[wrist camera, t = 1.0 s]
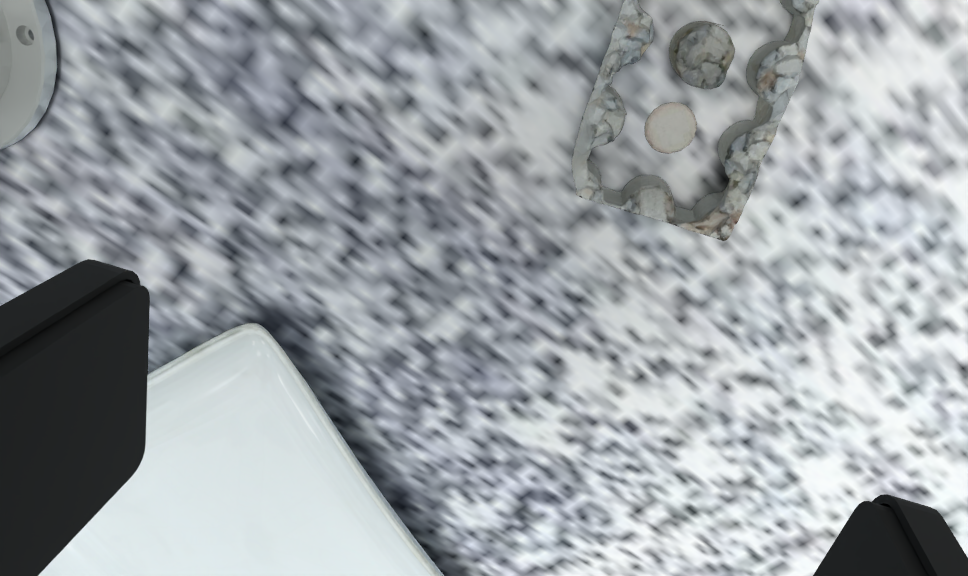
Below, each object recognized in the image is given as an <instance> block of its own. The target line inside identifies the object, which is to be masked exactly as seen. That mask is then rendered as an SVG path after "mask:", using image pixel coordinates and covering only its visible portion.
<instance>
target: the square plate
mask: <svg viewBox="0 0 968 576" xmlns="http://www.w3.org/2000/svg"><path fill="white" fill-rule="evenodd" d="M38 576H444V575H443V574H442V572H441V571H440V570H439V569H438V567H437V566H436V565H435V564H434V562H433V561H432V560H431V558H430V557H429V556H428V555H427V553H426V552H425V551H424V549H423V548H422V547H421V545H420V544H419V543H418V542H417V540H416V539H415V538H414V536H413V535H412V534H411V532H410V531H409V530H408V528H407V527H406V526H405V524H404V523H403V522H402V520H401V519H400V518H399V516H398V515H397V514H396V512H395V511H394V510H393V508H392V507H391V506H390V504H389V503H388V502H387V500H386V499H385V497H384V496H383V495H382V493H381V492H380V491H379V489H378V488H377V486H376V485H375V484H374V482H373V481H372V479H371V478H370V477H369V475H368V474H367V472H366V471H365V470H364V468H363V467H362V465H361V464H360V462H359V461H358V459H357V458H356V456H355V455H354V453H353V452H352V450H351V449H350V447H349V446H348V444H347V443H346V441H345V440H344V438H343V437H342V435H341V434H340V432H339V431H338V429H337V428H336V426H335V425H334V423H333V422H332V420H331V419H330V417H329V416H328V414H327V413H326V411H325V410H324V408H323V407H322V405H321V404H320V402H319V401H318V399H317V397H316V396H315V394H314V393H313V391H312V390H311V388H310V386H309V385H308V384H307V382H306V381H305V379H304V378H303V377H302V375H301V374H300V372H299V371H298V370H297V368H296V367H295V366H294V364H293V363H292V361H291V360H290V359H289V357H288V356H287V354H286V353H285V351H284V350H283V349H282V348H281V346H280V345H279V344H278V343H277V341H276V340H275V339H274V338H273V337H272V335H271V334H270V333H269V332H268V331H267V330H266V329H265V328H264V327H262V326H261V325H259V324H257V323H245V324H243V325H240V326H237V327H235V328H232V329H230V330H228V331H226V332H224V333H222V334H220V335H218V336H216V337H214V338H212V339H210V340H208V341H206V342H204V343H202V344H200V345H199V346H197V347H195V348H193V349H192V350H190V351H188V352H187V353H185V354H183V355H181V356H180V357H178V358H176V359H174V360H173V361H171V362H169V363H167V364H165V365H164V366H162V367H160V368H158V369H156V370H155V371H153V372H151V373H149V374H148V375H147V410H146V445H145V452H144V456H143V459H142V461H141V463H140V465H139V467H138V469H137V470H136V472H135V473H134V474H133V476H132V477H131V478H130V479H129V480H128V481H127V482H126V483H125V484H124V485H123V486H122V487H121V488H120V489H119V491H118V492H117V493H116V494H115V495H114V496H113V497H112V498H111V499H110V500H109V501H108V502H107V503H106V504H105V505H104V506H103V507H102V509H101V510H100V511H99V512H98V513H97V514H96V515H95V516H94V517H93V518H92V519H91V520H90V521H89V522H88V523H87V524H86V525H85V527H84V528H83V529H82V530H81V531H80V532H79V533H78V534H77V535H76V536H75V537H74V538H73V539H72V540H71V541H70V542H69V543H68V545H67V546H66V547H65V548H64V549H63V550H62V551H61V552H60V553H59V554H58V555H57V556H56V557H55V558H54V559H53V560H52V561H51V562H50V564H49V565H48V566H47V567H46V568H45V569H44V570H43V571H42V572H41V573H40V574H39V575H38Z"/></svg>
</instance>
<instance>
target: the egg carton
mask: <svg viewBox="0 0 968 576" xmlns="http://www.w3.org/2000/svg"><path fill="white" fill-rule="evenodd" d="M818 2H819V0H780V3H781V4H782V6H783V7H784V8H785V9H786V10H787V11H789V12H790V13H791V14H793V20H792V25H791V27H790V30H789V32H788V34H787V36H786V38H785V40H784V41H773V42H770V43H768V44H765V45H763V46H762V47H760V48H758V49H757V50H756V51H755V53H754V54H753V55H752V57H751V58H750V60H749V62H748V66H747V76H746V77H747V82H748V84H749V85H750V87H751V88H752V89H753V91H754V92H755V93H756V94H757V95H758V96H759V99H758V102H757V108H756V113H755V117H754V120H745V121H739V122H737V123H735V124H733V125H732V126H730V127H729V128H728V129H727V130H726V131H725V132H724V133H723V134H722V136H721V138H720V140H719V145H718V154H719V158H720V161H721V162H722V164H723V165H724V167H725V172H726V174H727V176H728V178H729V183H728V185H727V187H726V188H725V190H724V191H723V192H718V193H712V194H709V195H706V196H705V197H703V198H702V199H700V200H699V202H698V203H697V204H696V205H695V206H694V207H693V209H691V210H688V209H684V208H680V207H677V206H675V202H674V199H673V196H672V194H671V190H670V188H669V186H668V185H667V183H666V182H665V181H664V180H663V179H661V178H659V177H657V176H653V175H642V176H638V177H635V178H634V179H632V180H631V181H630V182H629V183H628V184H627V185H626V186H625V187H624V189H623V190H622V192H617V191H614V190H612V189H609V188H606V187H603V186H602V184H601V175H600V172H599V169H598V167H597V166H596V165H595V164H594V163H593V162H592V161H590V160H588V157H589V155H590V152H591V149H593V148H594V147H597V146H601V145H605V144H607V143H609V142H611V141H614V139H615V138H616V137H617V136H618V134H619V133H620V132H621V129H622V127H623V124H624V119H625V115H626V111H625V109H624V107H623V104H622V101H621V98H620V96H619V94H618V93H617V92H616V90H615V89H613V88H612V87H610V86H609V85H610V84H611V83H612V74H614V73H616V72H619V70H620V69H621V67H622V66H624V65H627V64H634V63H636V62H637V61H639V60H640V59H641V57H642V55H643V53H644V52H645V51H646V49H647V48H648V47H649V45H650V44H651V43H652V41H653V34H654V26H653V20H652V18H651V17H650V16H649V15H648V14H647V13H646V12H645V11H643V10H642V9H641V7H640V6H639V4H638V0H624V2H623V5H622V8H621V11H620V14H619V18H618V21H617V23H616V24H615V27H614V30H613V33H612V37H611V42H610V45H609V48H608V50H607V52H606V55H605V57H604V59H603V62H602V64H601V68H600V71H599V74H598V77H597V80H596V83H595V85H594V88H593V91H592V94H591V97H590V99H589V102H588V105H587V107H586V110H585V112H584V115H583V118H582V122H581V125H580V129H579V133H578V136H577V140H576V144H575V147H574V152H573V157H572V174H573V178H574V183H575V188H576V195H577V196H579V197H582V198H584V199H588V200H591V201H594V202H597V203H600V204H605V205H608V206H612V207H615V208H618V209H622V210H625V211H628V212H630V213H634V214H637V215H640V214H641V215H644V216H647V217H650V218H653V219H657V220H660V221H664V222H667V223H670V224H673V225H676V226H678V227H681V228H684V229H686V230H689V231H693V232H696V233H700V234H704V235H707V236H710V237H713V238H716V239H719V240H722V241H725V240H727V239H728V238H729V237H730V235H731V233H732V230H733V228H734V225H735V224H736V223H737V222H738V220H739V218H740V216H741V214H742V211H743V208H744V206H745V204H746V202H747V200H748V198H749V197H750V194H751V191H752V189H753V187H754V184H755V181H756V179H757V176H758V171H759V167H760V164H761V162H762V160H763V158H764V156H765V154H766V152H767V150H768V148H769V146H770V145H771V143H772V141H773V139H774V137H775V135H776V131H777V126H778V124H779V122H780V120H781V118H782V116H783V114H784V112H785V110H786V107H787V105H788V103H789V100H790V98H791V96H792V94H793V92H794V90H795V88H796V86H797V84H798V80H799V76H800V72H801V68H802V65H803V61H804V57H805V53H806V47H807V42H808V38H809V34H810V31H811V26H812V20H813V14H814V10H815V6H816V5H817V4H818ZM718 25H720V24H718ZM723 26H724V25H723ZM734 52H735V48H734V46H733V43H732V40H731V38H730V36H729V35H728V33H727V32H726V31H725V30H724V29H722V28H721V27H719V26H717V25H715V23H713V24H712V23H711V22H707V21H698V22H693V23H690V24H687V25H686V26H684V27H682V28H681V29H680V30H678V31H677V33H676V34H675V35H674V37H673V39H672V40H671V43H670V47H669V57H670V61H671V64H672V66H673V68H674V70H675V71H676V72H677V74H678V75H679V76H680V77H681V78H682V80H683V81H685V82H686V83H687V84H689V85H691V86H695V87H699V88H703V89H713V88H717V87H719V86H720V85H721V84H722V83H723V81H724V80H725V77H726V72H727V70H728V68H729V66H730V64H731V62H732V60H733V58H734ZM611 68H612V74H610V71H611ZM696 125H697V122H696V119H695V116H694V114H693V112H692V110H690V109H689V108H688V107H687V106H686V105H684V104H682V103H677V102H670V103H666V104H662V105H660V106H659V107H657V108H656V109H654V110H653V112H652V113H651V114H650V115H649V117H648V119H647V121H646V123H645V136H646V139H647V141H648V143H649V144H650V146H651V147H652V148H653V149H655V150H656V151H659V152H661V153H668V154H670V153H672V152H678V151H681V150H683V149H684V148H685V147H686V146H688V145H689V144H690V143H691V141H692V140H693V138H694V136H695V131H696V130H697V128H696Z"/></svg>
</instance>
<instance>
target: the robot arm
mask: <svg viewBox="0 0 968 576" xmlns="http://www.w3.org/2000/svg"><path fill="white" fill-rule="evenodd" d="M56 71H57V57H56V40H55V36H54V31H53V26H52V21H51V16H50V13H49V10H48V8H47V5H46V2H45V0H0V149H3V148H6V147H8V146H10V145H12V144H14V143H16V142H18V141H20V140H21V139H22V138H24V137H25V136H26V135H27V134H28V133H29V132H31V131H32V130H33V129H34V128H35V127H36V125H37V124H38V122H39V121H40V119H41V118H42V116H43V115H44V114H45V112H46V110H47V107H48V105H49V102H50V99H51V97H52V94H53V91H54V85H55V78H56ZM149 304H150V298H149V292H148V290H147V288H145V287H144V286H141V285H140V280H139V278H138V276H137V274H135V273H134V272H133V271H129V270H126V269H123V268H119V267H116V266H113V265H109V264H106V263H102V262H99V261H96V260H89V259H88V260H85V261H82V262H80V263H78V264H76V265H74V266H72V267H71V268H69V269H67V270H65V271H63V272H62V273H60V274H58V275H56V276H54V277H52V278H51V279H49V280H47V281H45V282H43V283H41V284H40V285H38V286H36V287H34V288H32V289H31V290H29V291H27V292H25V293H23V294H21V295H20V296H18V297H16V298H14V299H12V300H10V301H9V302H7V303H5V304H3V305H1V306H0V576H38V575H39V574H40V573H41V572H42V571H43V570H44V569H45V568H46V567H47V566H48V565H49V564H50V562H51V561H52V560H53V559H54V558H55V557H56V556H57V555H58V554H59V553H60V552H61V551H62V550H63V549H64V548H65V547H66V546H67V545H68V543H69V542H70V541H71V540H72V539H73V538H74V537H75V536H76V535H77V534H78V533H79V532H80V531H81V530H82V529H83V528H84V527H85V525H86V524H87V523H88V522H89V521H90V520H91V519H92V518H93V517H94V516H95V515H96V514H97V513H98V512H99V511H100V510H101V509H102V507H103V506H104V505H105V504H106V503H107V502H108V501H109V500H110V499H111V498H112V497H113V496H114V495H115V494H116V493H117V492H118V491H119V489H120V488H121V487H122V486H123V485H124V484H125V483H126V482H127V481H128V480H129V479H130V478H131V477H132V476H133V474H134V473H135V472H136V470H137V469H138V467H139V465H140V463H141V461H142V459H143V456H144V452H145V445H146V410H147V374H148V339H149ZM813 576H968V558H967V556H966V554H965V553H964V551H963V550H962V548H961V546H960V545H959V543H958V541H957V540H956V538H955V537H954V535H953V533H952V532H951V530H950V528H949V527H948V525H947V524H946V522H945V520H944V519H943V517H942V516H941V515H940V514H939V512H938V511H937V510H935V509H933V508H931V507H928V506H924V505H921V504H918V503H914V502H911V501H908V500H904V499H901V498H897V497H894V496H891V495H880V496H878V497H877V498H875V499H874V500H873V501H872V502H869V501H864V502H862V503H860V504H859V505H858V506H857V507H856V509H855V510H854V512H853V513H852V515H851V516H850V518H849V520H848V521H847V523H846V524H845V526H844V527H843V529H842V531H841V532H840V534H839V535H838V537H837V539H836V540H835V542H834V543H833V545H832V546H831V548H830V550H829V551H828V553H827V554H826V556H825V558H824V559H823V561H822V562H821V564H820V565H819V567H818V569H817V570H816V572H815V573H814V575H813Z"/></svg>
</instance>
